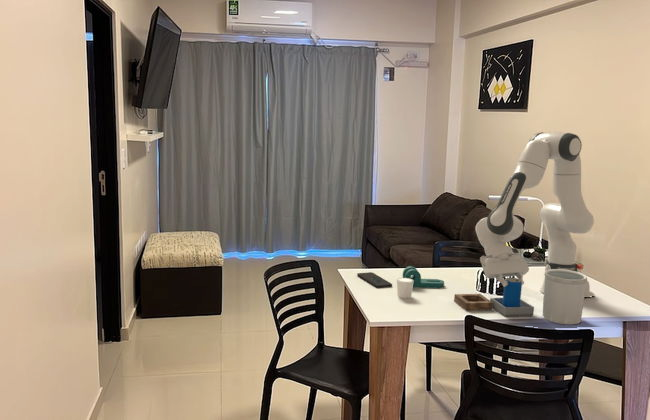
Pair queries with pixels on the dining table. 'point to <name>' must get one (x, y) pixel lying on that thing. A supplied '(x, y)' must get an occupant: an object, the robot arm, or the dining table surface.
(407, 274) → the bracket
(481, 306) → the walnut collar block
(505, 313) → the slate tray
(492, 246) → the robot arm
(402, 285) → the shot glass
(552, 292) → the utensil holder
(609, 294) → the dining table surface
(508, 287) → the beverage can
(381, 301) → the dining table surface
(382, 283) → the smart home device
